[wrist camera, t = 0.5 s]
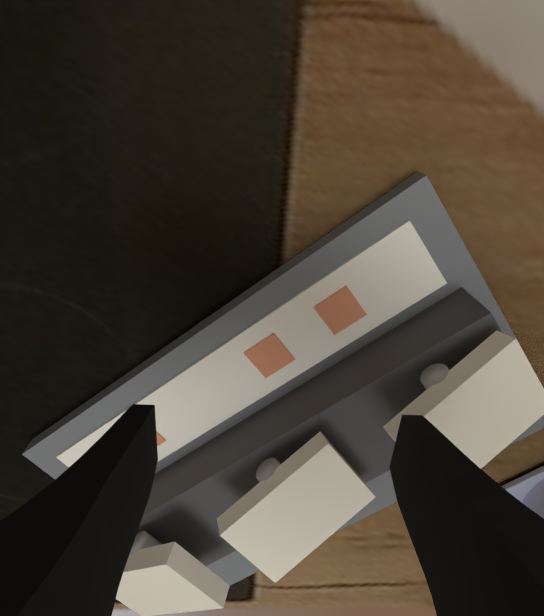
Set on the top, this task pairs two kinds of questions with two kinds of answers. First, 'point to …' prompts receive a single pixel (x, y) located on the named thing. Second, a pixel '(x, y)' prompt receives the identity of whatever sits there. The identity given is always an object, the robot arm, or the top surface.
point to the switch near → (480, 399)
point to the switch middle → (294, 507)
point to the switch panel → (297, 369)
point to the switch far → (168, 580)
